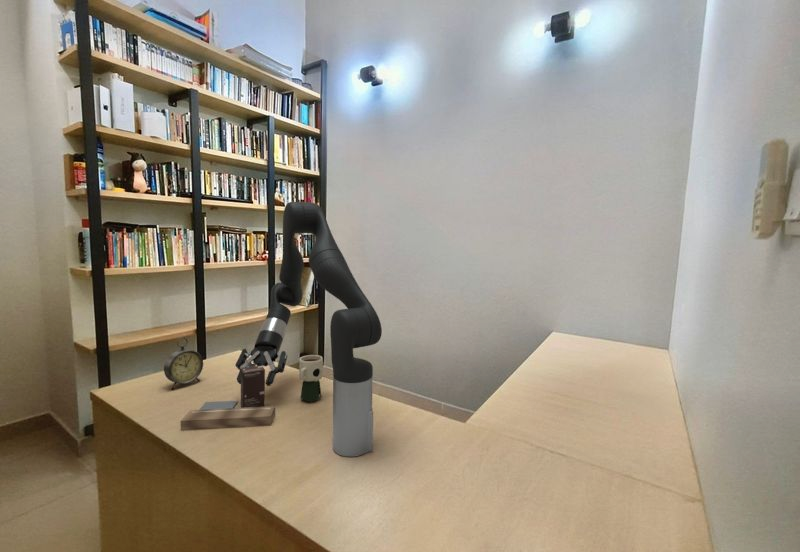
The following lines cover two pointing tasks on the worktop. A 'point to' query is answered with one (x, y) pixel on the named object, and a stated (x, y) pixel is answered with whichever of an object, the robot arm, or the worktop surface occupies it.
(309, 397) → the character mug
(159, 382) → the worktop surface
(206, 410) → the walnut board
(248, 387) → the box
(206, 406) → the grey mat
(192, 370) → the alarm clock
